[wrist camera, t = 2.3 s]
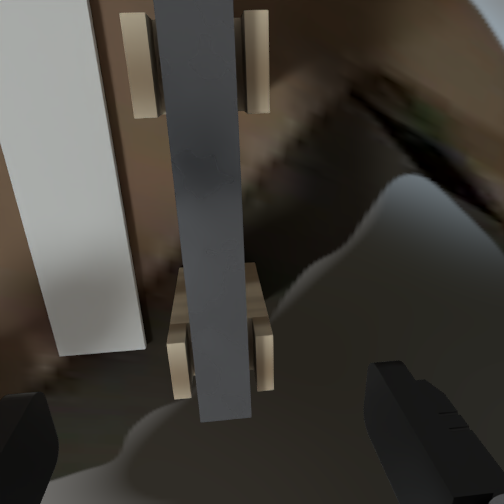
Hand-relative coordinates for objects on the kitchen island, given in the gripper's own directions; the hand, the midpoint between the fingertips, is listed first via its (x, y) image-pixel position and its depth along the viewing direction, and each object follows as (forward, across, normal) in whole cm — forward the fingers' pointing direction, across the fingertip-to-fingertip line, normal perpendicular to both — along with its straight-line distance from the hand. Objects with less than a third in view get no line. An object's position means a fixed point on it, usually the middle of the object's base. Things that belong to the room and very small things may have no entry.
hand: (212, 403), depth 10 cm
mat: (+21, +10, 0) cm, 23 cm away
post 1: (+21, 0, -8) cm, 23 cm away
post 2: (+21, 0, +8) cm, 22 cm away
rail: (+13, 0, 0) cm, 13 cm away
